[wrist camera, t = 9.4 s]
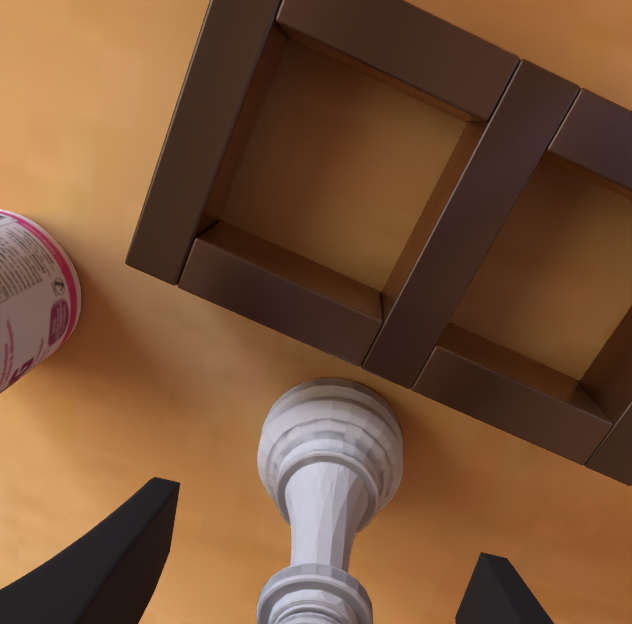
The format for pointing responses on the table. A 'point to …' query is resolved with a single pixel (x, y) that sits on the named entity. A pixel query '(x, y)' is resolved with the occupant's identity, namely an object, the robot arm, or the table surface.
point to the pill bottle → (33, 296)
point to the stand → (430, 231)
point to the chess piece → (326, 494)
